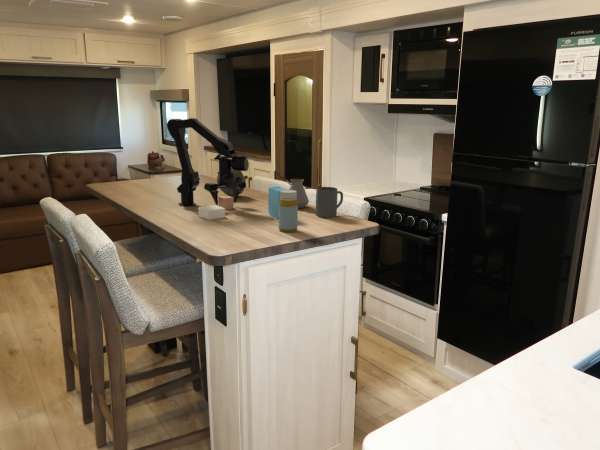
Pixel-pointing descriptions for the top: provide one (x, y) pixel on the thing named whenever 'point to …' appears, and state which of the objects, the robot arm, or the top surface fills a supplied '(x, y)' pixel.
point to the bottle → (288, 211)
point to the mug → (327, 201)
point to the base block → (211, 212)
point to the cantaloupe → (226, 189)
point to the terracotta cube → (226, 202)
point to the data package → (274, 201)
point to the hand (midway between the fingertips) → (225, 204)
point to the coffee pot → (297, 186)
